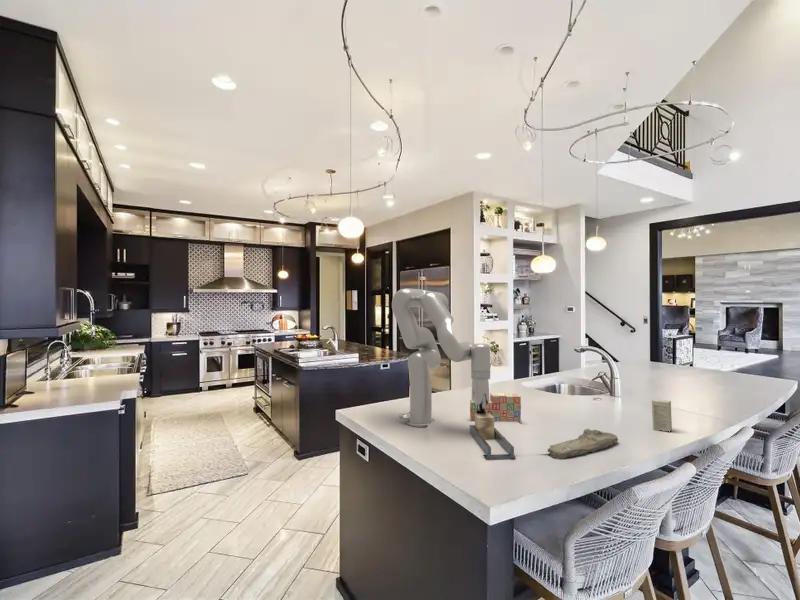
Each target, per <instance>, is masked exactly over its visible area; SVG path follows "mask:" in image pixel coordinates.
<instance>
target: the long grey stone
mask: <svg viewBox="0 0 800 600" xmlns="http://www.w3.org/2000/svg"><path fill="white" fill-rule="evenodd" d="M618 440H619V438H618V436H617V435H616V434H614V433H611V432H603V431H602V430H601V431H600V430H598V429H589V428H585V429H584V430H583V433H582V434H580V435H579V436H578V437H577V438H575V439H569V440H567V441H566V440H565V441H564V442H563V441H562V442H559V443H555V444H552V445H551V444H550V446H549V448H547V452H548V453H549V454H548V455H549V457H550V458H552V459H556V458H558V459H557V460H564V459H566V458H571V457H572V458H573V457H577V455H579V456H583V455H585V454H584V453H588V454H590V453H589V452H592V453H595V452H596V451H600V450H605V449H607V448H609V446H610V447H613V446H614V445H615V444H616V443H618ZM612 445H613V446H612ZM604 448H605V449H604ZM563 458H564V459H563Z"/></svg>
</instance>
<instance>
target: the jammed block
mask: <svg viewBox="0 0 800 600" xmlns="http://www.w3.org/2000/svg"><path fill="white" fill-rule="evenodd" d="M474 425H475V429H476V430H477V431H478V432H479V433H480V435H481V436H482V437H483V438H484V440H494V439H495V438H494V427H495V421H494V417H493V416H492V415H491V414H475V421H474Z"/></svg>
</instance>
